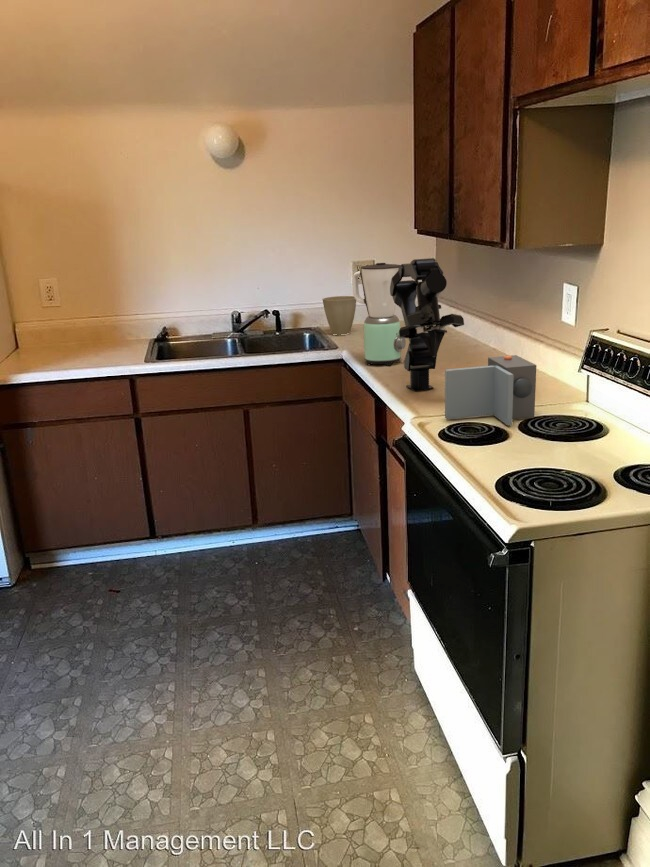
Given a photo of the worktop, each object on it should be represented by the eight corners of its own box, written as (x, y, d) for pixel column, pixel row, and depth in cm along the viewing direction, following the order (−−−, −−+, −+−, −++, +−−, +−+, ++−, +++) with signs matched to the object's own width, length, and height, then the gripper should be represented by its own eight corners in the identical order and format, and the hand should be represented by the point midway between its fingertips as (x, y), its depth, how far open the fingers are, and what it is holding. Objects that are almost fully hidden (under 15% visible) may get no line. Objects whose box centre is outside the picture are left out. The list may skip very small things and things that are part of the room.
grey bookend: (444, 417, 189) (444, 369, 185) (494, 412, 191) (496, 364, 187) (458, 430, 178) (458, 379, 174) (512, 424, 180) (513, 374, 176)
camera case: (486, 407, 197) (487, 354, 193) (514, 404, 198) (516, 352, 194) (506, 421, 184) (508, 365, 179) (536, 419, 185) (538, 363, 180)
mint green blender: (411, 360, 259) (410, 261, 248) (397, 368, 248) (395, 265, 237) (363, 357, 267) (360, 261, 256) (348, 365, 256) (344, 265, 245)
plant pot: (364, 333, 314) (363, 297, 309) (338, 338, 306) (336, 301, 301) (343, 330, 325) (342, 294, 320) (317, 334, 317) (315, 298, 312)
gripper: (384, 307, 203) (390, 361, 202) (439, 290, 190) (445, 348, 190) (407, 311, 211) (413, 363, 210) (461, 295, 199) (468, 350, 198)
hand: (434, 356), depth 202 cm, fingers closed
